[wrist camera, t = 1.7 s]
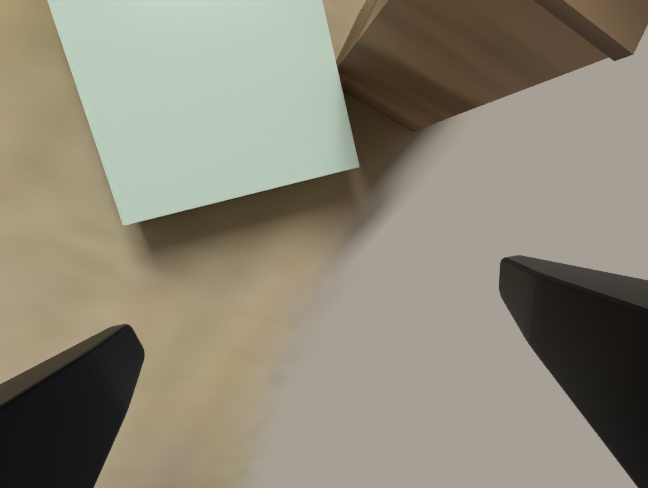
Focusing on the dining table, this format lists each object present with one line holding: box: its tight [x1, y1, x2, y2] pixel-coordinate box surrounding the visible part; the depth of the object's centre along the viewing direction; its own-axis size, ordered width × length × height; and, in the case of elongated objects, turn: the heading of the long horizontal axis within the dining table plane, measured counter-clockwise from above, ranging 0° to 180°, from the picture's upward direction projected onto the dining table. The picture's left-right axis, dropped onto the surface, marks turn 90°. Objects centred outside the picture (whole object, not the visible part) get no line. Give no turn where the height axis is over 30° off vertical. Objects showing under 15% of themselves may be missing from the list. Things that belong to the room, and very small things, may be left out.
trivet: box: [47, 0, 360, 226], centre depth 18 cm, size 11×11×2 cm
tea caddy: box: [336, 0, 648, 131], centre depth 15 cm, size 4×6×12 cm
